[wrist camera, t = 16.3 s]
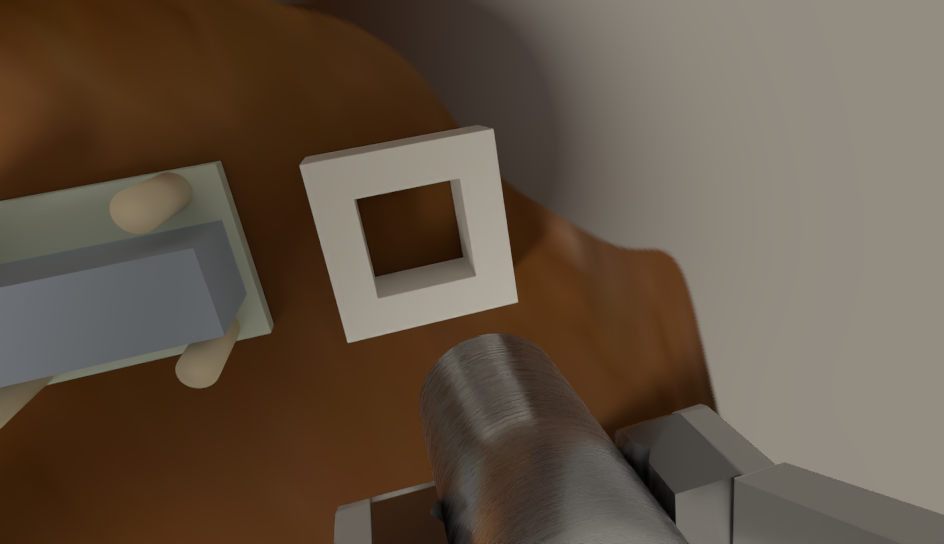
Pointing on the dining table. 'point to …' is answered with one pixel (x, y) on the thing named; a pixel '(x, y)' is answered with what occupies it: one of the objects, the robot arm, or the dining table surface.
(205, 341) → the peg rack
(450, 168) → the slot block
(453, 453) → the steel pin
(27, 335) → the bar
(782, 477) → the robot arm
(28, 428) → the dining table surface
